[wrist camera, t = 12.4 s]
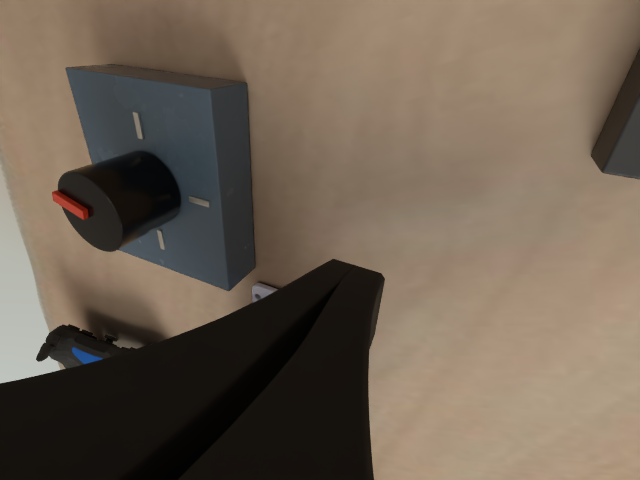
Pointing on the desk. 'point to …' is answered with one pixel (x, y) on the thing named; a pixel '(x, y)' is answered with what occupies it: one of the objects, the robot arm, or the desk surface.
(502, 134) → the desk surface
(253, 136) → the desk surface
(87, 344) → the gaming controller
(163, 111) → the dial panel
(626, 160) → the button housing
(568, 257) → the desk surface
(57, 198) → the dial
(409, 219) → the desk surface
